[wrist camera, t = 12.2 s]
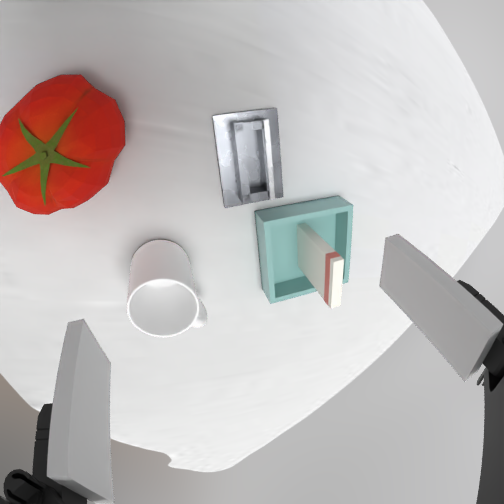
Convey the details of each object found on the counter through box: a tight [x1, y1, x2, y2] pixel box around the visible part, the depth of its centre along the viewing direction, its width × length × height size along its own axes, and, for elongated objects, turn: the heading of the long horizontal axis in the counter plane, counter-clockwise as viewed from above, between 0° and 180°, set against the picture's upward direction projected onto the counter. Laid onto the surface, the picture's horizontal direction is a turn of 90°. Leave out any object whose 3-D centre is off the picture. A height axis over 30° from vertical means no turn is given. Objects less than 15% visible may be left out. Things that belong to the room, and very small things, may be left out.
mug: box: [127, 240, 208, 337], centre depth 39 cm, size 12×8×10 cm
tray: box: [255, 196, 353, 304], centre depth 46 cm, size 13×13×4 cm
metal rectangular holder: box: [212, 108, 283, 208], centre depth 38 cm, size 12×8×3 cm, turn 6°
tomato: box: [0, 75, 125, 215], centre depth 27 cm, size 14×16×10 cm
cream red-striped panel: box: [297, 223, 344, 309], centre depth 42 cm, size 7×1×11 cm, turn 6°
